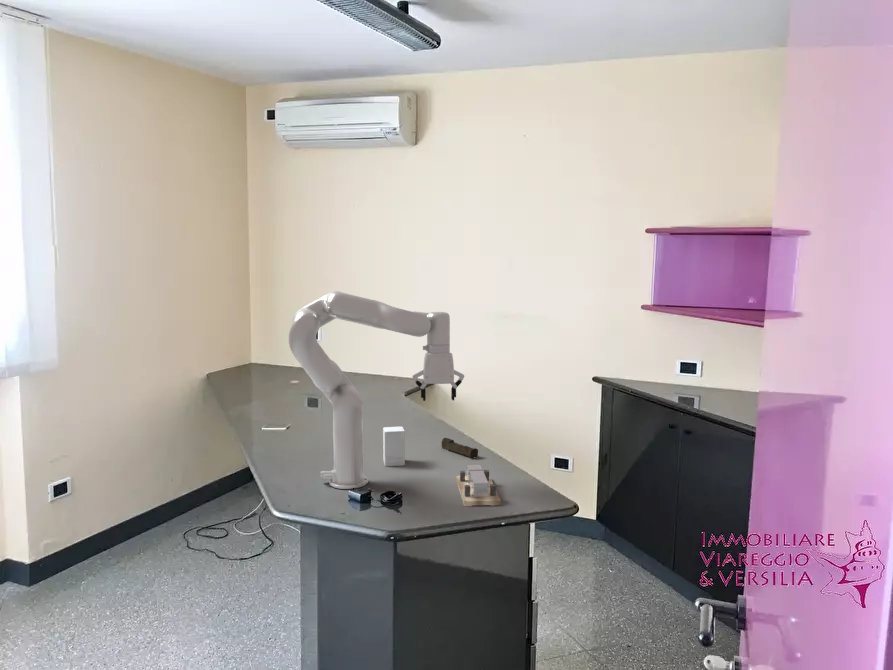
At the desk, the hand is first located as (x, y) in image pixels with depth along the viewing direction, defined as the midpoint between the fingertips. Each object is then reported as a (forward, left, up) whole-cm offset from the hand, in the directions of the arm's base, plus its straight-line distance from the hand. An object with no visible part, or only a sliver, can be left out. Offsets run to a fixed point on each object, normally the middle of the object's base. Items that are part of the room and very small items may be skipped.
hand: (438, 399), depth 227 cm
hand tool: (+9, +26, -27) cm, 39 cm away
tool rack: (+11, -17, -26) cm, 33 cm away
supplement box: (-15, +16, -26) cm, 34 cm away
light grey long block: (+11, -17, -25) cm, 32 cm away
